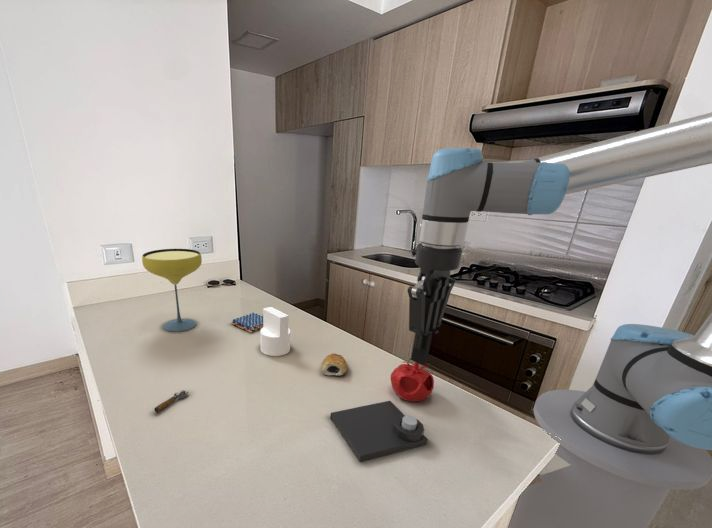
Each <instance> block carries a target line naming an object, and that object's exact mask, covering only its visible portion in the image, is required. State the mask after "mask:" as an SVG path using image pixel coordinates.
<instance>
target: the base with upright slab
mask: <svg viewBox="0 0 712 528" xmlns="http://www.w3.org/2000/svg"><path fill="white" fill-rule="evenodd" d="M262 316H263V327H261V328H260V331H259V335H260V336H259V340H260V352H261V353H262V354H264V355H266V356H272V357H279V356H284V355H286V354H288V353H289V352H290V351H291V329H290V328H289V314H286V313H284V312H282V311H281V310H279V309H277V308H274V307H272V306H269V307H264V308H263V309H262Z"/></svg>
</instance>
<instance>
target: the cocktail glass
mask: <svg viewBox="0 0 712 528" xmlns="http://www.w3.org/2000/svg"><path fill="white" fill-rule="evenodd" d="M141 255H142V256H141V263H142V266H143V268H144V269H145V270H146V271H147V272H149V273H151V274H153V275H154V276H155V275H156V276H158V277H161V278H163V279H166V280H168V282H170V284H172V285H173V286H174V293H175V303H176V319H172V320H168V321H167V322H165V323H164V324H163V325H162V326H163V329H164V331H167V332H172V333H179V332H186V331H190V330H192V329H194V328H195V327H196V325H197V322H196V321H195V320H194V319H191V318H182V317H181V312H180V306H179V304H180V303H179V296H178V295H179V294H178V287H177V285H179V284H180V282H181V280H183V278H185V277H187V276H189V275H190V274H193V273H194V272H195V271H197V270H198V269H199V268H200V267H201V265H202V262H203V260H202V254H201V252H200V251H198V250H195V249H191V248H164V249H163V248H162V249H156V250H150V251H147V252H145V253H143V254H141Z"/></svg>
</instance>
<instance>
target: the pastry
mask: <svg viewBox="0 0 712 528" xmlns="http://www.w3.org/2000/svg"><path fill="white" fill-rule="evenodd" d="M320 371H321V373H322V374H323V375H324V376H336V377H339V376H343V375H345V374H346V373H347V371H348V363H347V361H346V359H345V358H344V356H343V355H341V354H337V353H330V354H328V355H327V356H325V357H324V359H323V360H322V362H321V369H320Z"/></svg>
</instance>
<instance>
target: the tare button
mask: <svg viewBox="0 0 712 528" xmlns="http://www.w3.org/2000/svg"><path fill="white" fill-rule="evenodd" d="M416 419H417V418H415V417H414V416H411V415H405V416H404V417H403V419H402V424H401V425H402V427H403V428H404V429H406V430H409V431H414V430H415V429H416V426H417V420H418V419H417V420H416Z"/></svg>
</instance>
